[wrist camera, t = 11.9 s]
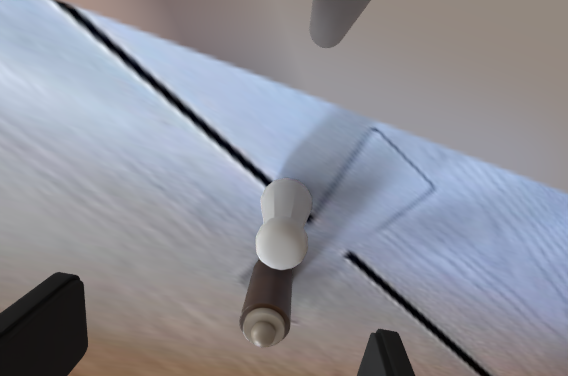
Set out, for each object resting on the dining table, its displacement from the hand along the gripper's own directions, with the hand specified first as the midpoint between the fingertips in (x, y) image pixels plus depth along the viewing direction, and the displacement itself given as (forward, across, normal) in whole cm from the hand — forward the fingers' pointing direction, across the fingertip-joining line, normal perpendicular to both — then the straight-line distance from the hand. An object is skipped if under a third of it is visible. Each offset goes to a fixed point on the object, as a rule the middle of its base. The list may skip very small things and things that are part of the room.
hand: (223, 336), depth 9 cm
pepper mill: (+25, -1, +15) cm, 30 cm away
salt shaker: (+26, -2, +4) cm, 26 cm away
